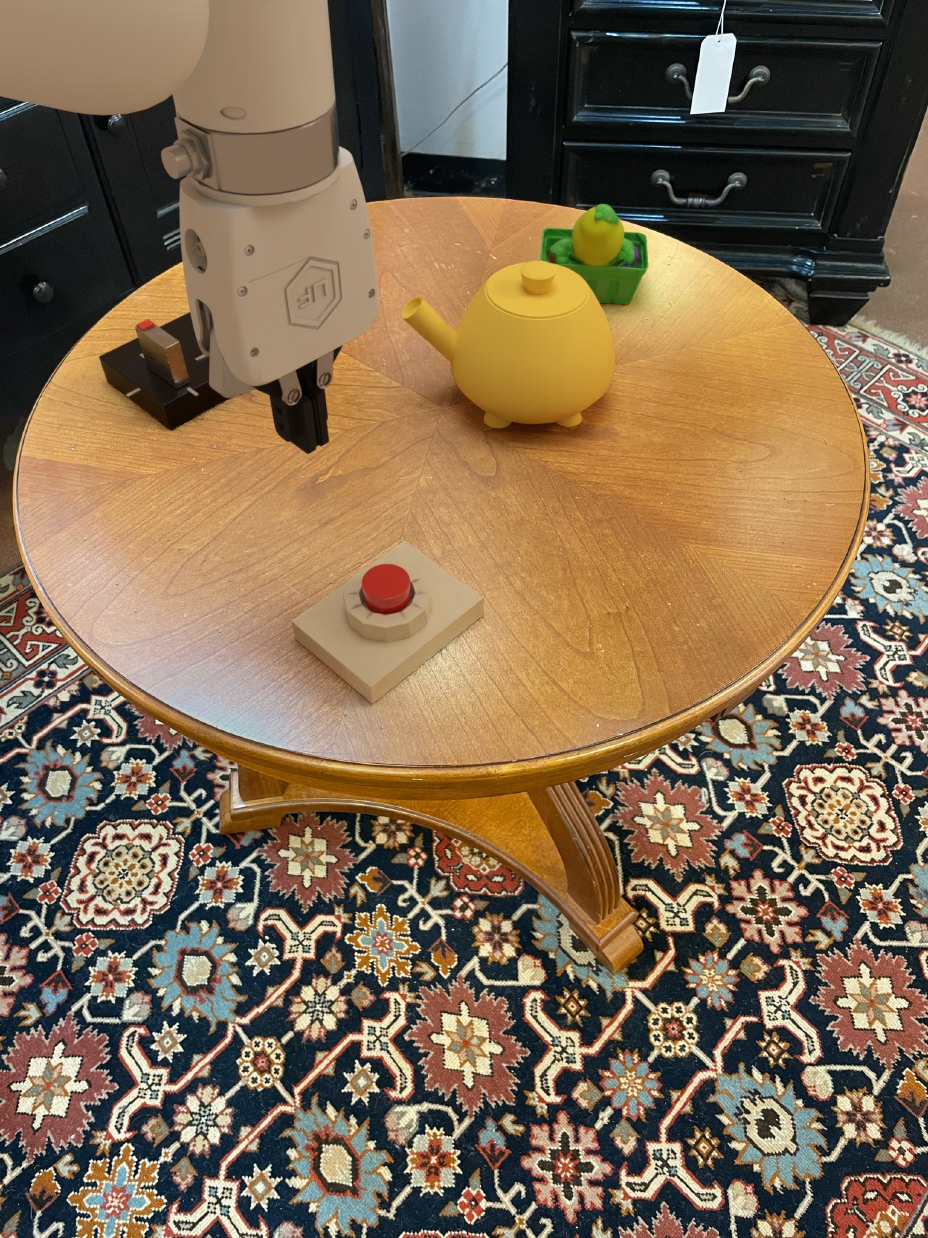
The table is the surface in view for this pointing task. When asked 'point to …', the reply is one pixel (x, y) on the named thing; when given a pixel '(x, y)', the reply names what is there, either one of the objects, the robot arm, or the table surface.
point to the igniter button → (386, 589)
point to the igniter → (388, 624)
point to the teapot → (526, 345)
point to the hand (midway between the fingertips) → (303, 438)
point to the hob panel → (151, 390)
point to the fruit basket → (599, 254)
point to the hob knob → (162, 354)
